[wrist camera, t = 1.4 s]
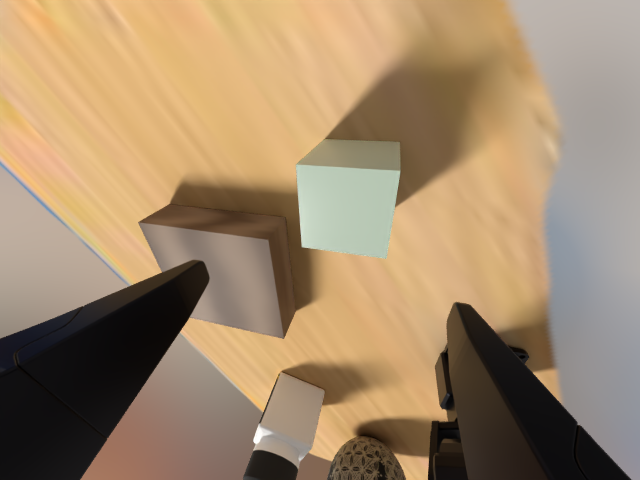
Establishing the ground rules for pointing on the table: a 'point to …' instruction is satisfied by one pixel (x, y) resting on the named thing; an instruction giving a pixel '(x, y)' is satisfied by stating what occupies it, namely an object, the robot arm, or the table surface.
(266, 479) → the medicine bottle
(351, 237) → the sage pill box
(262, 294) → the walnut block
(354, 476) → the decorative egg
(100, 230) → the table surface
